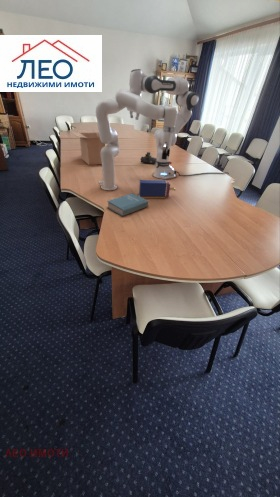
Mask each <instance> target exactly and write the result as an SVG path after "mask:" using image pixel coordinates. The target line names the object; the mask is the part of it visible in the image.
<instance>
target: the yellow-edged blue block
mask: <svg viewBox="0 0 280 497" xmlns="http://www.w3.org/2000/svg"><path fill="white" fill-rule="evenodd" d="M166 188H167V181H166V180H165V179H162V180H158V179H139V186H138V196H140V197H142V198H144V199H166Z"/></svg>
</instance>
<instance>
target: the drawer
mask: <svg viewBox="0 0 280 497" xmlns="http://www.w3.org/2000/svg"><path fill="white" fill-rule="evenodd" d="M166 183H167V186H166V194H165V197H167V198H169V196H170V191H177V189H176V188H175V187H171V183H170V181H166Z"/></svg>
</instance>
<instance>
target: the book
mask: <svg viewBox="0 0 280 497" xmlns="http://www.w3.org/2000/svg"><path fill="white" fill-rule="evenodd" d="M146 207H149V200H148V199H147V198H142V197H140V196H139V195H137V194H135V193H133V192H131V193H129V194H125V195H122V196H119V197H115V198H112V199H109V200H107V208H108V209H109V210H111V211H112V212H115V213H116V214H117V215H119V216H121V217H124V216H126V215H129V214H132V213H134V212H137V211H140V210H142V209H144V208H146Z"/></svg>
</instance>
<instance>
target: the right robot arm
mask: <svg viewBox="0 0 280 497" xmlns="http://www.w3.org/2000/svg"><path fill="white" fill-rule="evenodd" d="M128 80H129V82H128V85H129V89H128V90H129V91H130V92H131V93H133V94H136V95H138V96H141V97H142V93H147V94H156V93H158V92H160V91H161V92H166V94H168V95H173V96H175V104H176V105H177V106H179V107H180V110H179V111H177V117H176V125H175V132H174V133H173V135H172V143H171V147H173V146H175V144H176V143H177V140H178V139H177V138H178V135H179V133H180V132H181V130H182V129H183V128H184V127H185V125H186V124H187V123H188V122H189V120H190V119H191V117H192V115H193V111H194V109H195V108H196V107H197V105H198V103H199V100H200V98H199V94H198V93H197V92H195V91H189V88H190V83H189V80H187V79H186V78H183V77H180V76H179V77H178V76H172V77H168V78H167V79H160V78H159V77H158V76H156V75H147V74H146V73H145V72H143V70H142V69H141V68H135V69H131V71H130V73H129V79H128ZM126 110H127V111H129V117H130V119H133V118H134V115H133V114H134V113H135V121H139V118H140V115H141V114H140V113H138V112H136V111H134V110H131V109H129V108H126ZM153 134H154V135H153V137H154V140H155V144H156V158H157V159H156V164H154V171H153V175H152V176H153V177H154V178H156V179H162V180H169V179H173V178H177V175H176V174H178V176H179V177H192V176H199V175H209V174H211V175H212V174H213V175H214V174H215V175H216V174H218V175H224V174H227V175H230V173H229V172H227V171H225V172H202V173H194V174H181V173H180V172H179V171H177V170H176V169H174V168H173V167H172V166H171V165H172V164H173V162H172V161H169V158H170V155H169V156H167V159H166V160H165V159H162V152H163V149H162V148H161V147H162V140H163V134H164V132H163V128H161V129H157V130H155V132H154V133H153Z"/></svg>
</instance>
